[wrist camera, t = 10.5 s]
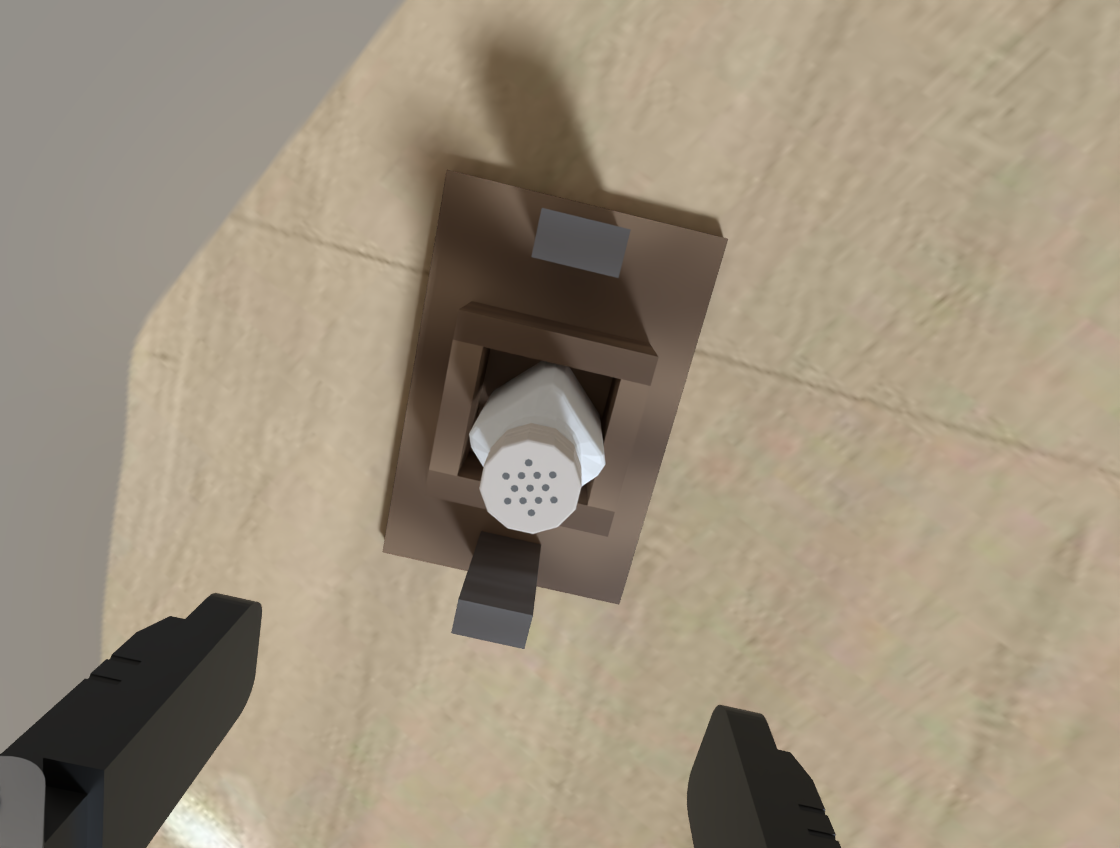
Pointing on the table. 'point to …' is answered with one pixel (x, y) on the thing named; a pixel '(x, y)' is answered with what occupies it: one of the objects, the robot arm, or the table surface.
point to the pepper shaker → (537, 447)
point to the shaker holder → (515, 346)
